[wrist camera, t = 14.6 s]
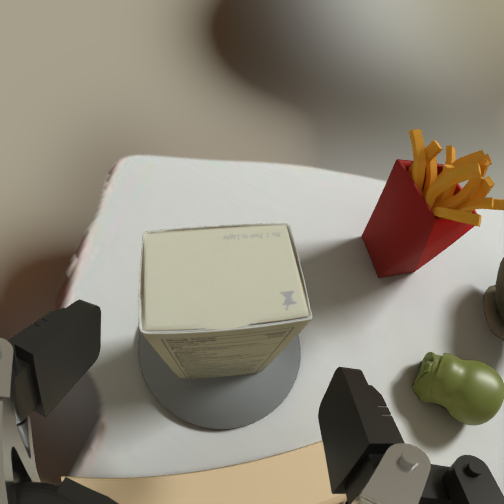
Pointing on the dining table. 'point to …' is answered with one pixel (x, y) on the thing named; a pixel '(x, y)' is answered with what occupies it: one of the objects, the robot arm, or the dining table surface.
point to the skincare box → (221, 297)
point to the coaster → (221, 389)
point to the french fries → (426, 207)
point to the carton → (232, 483)
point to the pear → (460, 387)
